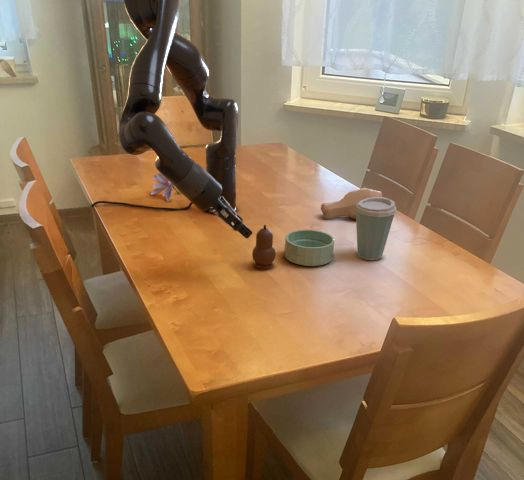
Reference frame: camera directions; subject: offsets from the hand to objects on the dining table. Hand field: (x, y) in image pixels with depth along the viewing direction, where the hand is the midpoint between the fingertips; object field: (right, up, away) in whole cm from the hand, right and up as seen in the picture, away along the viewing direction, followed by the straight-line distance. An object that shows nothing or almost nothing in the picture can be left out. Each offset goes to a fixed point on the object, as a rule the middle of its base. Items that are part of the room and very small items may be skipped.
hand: (244, 229), depth 134 cm
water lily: (-29, +23, +53) cm, 64 cm away
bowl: (+17, -5, +12) cm, 21 cm away
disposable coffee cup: (+33, -4, +15) cm, 37 cm away
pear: (+5, -8, +7) cm, 12 cm away
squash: (+33, +12, +40) cm, 53 cm away
